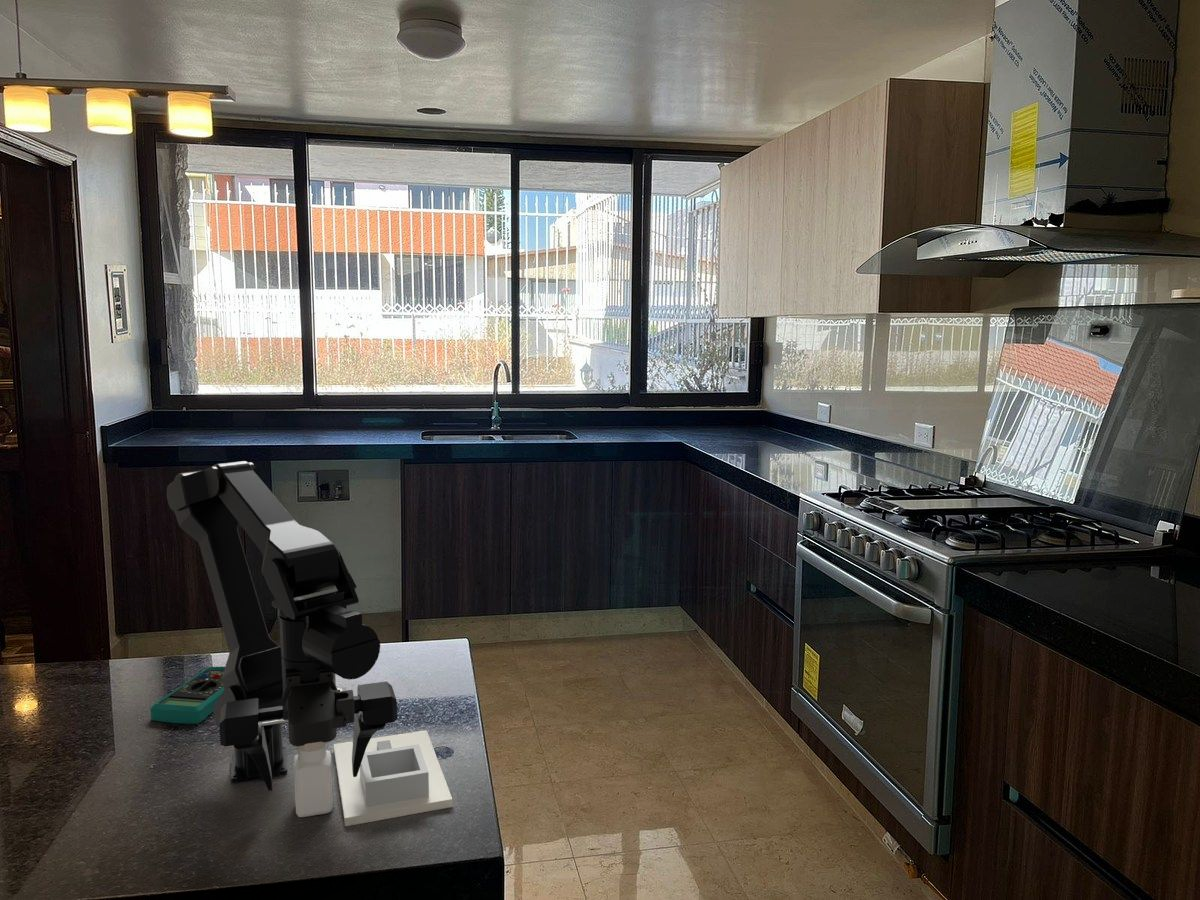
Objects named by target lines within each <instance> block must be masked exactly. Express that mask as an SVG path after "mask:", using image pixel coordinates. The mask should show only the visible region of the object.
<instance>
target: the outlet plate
mask: <svg viewBox="0 0 1200 900" xmlns="http://www.w3.org/2000/svg"><path fill="white" fill-rule="evenodd" d="M352 749H353V740H351V741H346V742H340V743H339V742H338V743H333V754H334V755H333V756H334V761H335V767H336V768H335V769H336V775H337V783H338V789H339V794H340V801H341V808H342V815H343V823H344V827H350V826H355V825H361V824H366V823H371V822H377V821H382V820H388V819H393V818H398V817H399V818H400V817H405V816H410V815H416V814H421V813H425V812H426V813H427V812H433V811H438V810H443V809H450V808H453V807H454V806H453V796H452V794H451V792H450V791H451V790H450V789H449V786H448V784H447V781H446V778H445V775H444V773H443V769H442V768H441V765H440V762H439V759H438V756H437V754H436V752H435V749H434V746H433V744H432V741H431V738H430V735H429V733H428V730H427V729H425V730H419V731H412V732H405V733H400V734H399V733H398V734H392V735H387V736H385V735H384V736H379V737H378V736H377V737H374V738H373V737H371V739H370V741H369V743H368V745H367V747H366V750H365V753H364V756H363V759H362V762H361V765H360V768H359V771H358V774H357V777H353V773H352Z"/></svg>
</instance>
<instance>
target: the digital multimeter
mask: <svg viewBox="0 0 1200 900" xmlns="http://www.w3.org/2000/svg"><path fill="white" fill-rule="evenodd" d="M224 669H225V666H207V667H205V668H203V670H202V671H200V672H199V673H197V674H196V675H194V676H193V677H192V678H191V679H189V680H187V681H186V682H184V683H183V684H181V686H178V687H177V688H176V689H174V690H172V691H171V692H170V693H168V694H167V695H165V696H164V697H162V698H161V699H160V700H158V701H156V702H155V703H154V704H152V705H151V706H150V707H149V708H150V720H152V721H153V722H162V723H171V724H185V725H187V724H189V725H191V724H192V725H194V724H195V725H199V724H200V723H201V722H203V721H204V720H206V718H207V717H209V716H210V715H212V713H214V712H213V707H214V706H215V704H216V702H217V701H218V699H219V698H220V696H221V694H222V693H223V691H224V685H223V681H222V676H223V672H224ZM208 715H209V716H208Z"/></svg>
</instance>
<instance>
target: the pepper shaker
mask: <svg viewBox="0 0 1200 900" xmlns="http://www.w3.org/2000/svg"><path fill="white" fill-rule="evenodd" d="M327 745H328V742H315V743H308V744H305V745H304V746H296V748H297V754H295V755H294V757H293V776H294V778H293V780H294V796H295V797H294V798H295V799H294V800H295V801H294V803H295V813H296V816H297V817H298V818H305V817H312V816H317V815H318V816H319V815H325V814H329V813H330V812H332V810H333V806H334V803H333V800H334V799H333V776H332V775H333V772H332V756H331V750H328V749H327Z"/></svg>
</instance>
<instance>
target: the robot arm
mask: <svg viewBox="0 0 1200 900" xmlns="http://www.w3.org/2000/svg"><path fill="white" fill-rule="evenodd" d="M173 479H174V480H173V481H172V482H170V483H168V484H167V488H166V500H167V503H168V506H169V509H170V510H171V511H173V512H174V515H175V518H176V521H177V524H178V526H179V527H180V529H181V530H183V531H184V532H185V533H187V535H188V536H190V537H191V538H192V539H194V541H196V542H197V543H198V545H199V549H200V553H201V557H202V560H203V563H204V567H205V569H206V573H207V578H208V581H209V584H210V587H211V591H212V595H213V597H214V601H215V605H216V609H217V612H218V616H219V619H220V622H221V626H222V629H223V634H224V637H225V640H226V644H227V647H228V650H229V651H228V652H229V653H228V656H227V660H226V663H225V666H224V667H225V669H224V672H223V676H222V681H223V685H224V691H223V693H222V694H221V696H220V698H219V699H218V701H217V702H216V704H215V706H214V707H213V712H212V713H213V717H214V721H215V725H216V726H217V727H218V728H219V743H220V746H223V747H232V746H233V754H232V756H231V765H230V782H233V783H235V782H241V781H247V780H253V779H254V780H255V779H260V778H262V780H263V782H264V784H265V786H266V789H267V790H268V792H270V791H273V777H274V776H278V775H284V774H287V773H288V753H287V751H288V750H287V747H286V746H284V740H283V737H284V735H283V725H284V724H288V742H289V743H290V745H291V746H293V747H297V746H304V745H305V744H308V743H315V742H327V743H328V742H332V741H333V740H334V739H336V737H337V729H341V728H347V726H348V725H347V724H353V723H354V724H353V736H352V737H353V739H352V741H353V749H352V773H353V777H357V774H358V771H359V768H360V765H361V762H362V759H363V756H364V753H365V750H366V747H367V745H368V743H369V741H370V739H372V738H373V735H375V734H376V732H377V731H381V730H384V729H386V725H387V724H390V723H394V722H396V721H397V720H398V702H397V698H396V695H395V692H394V688H393V685H391V684H390V682H388V681H379V682H372V683H365V684H358V685H357V689H356V690H357V691H356V693H357V694H356V695H354V691H353V689H349V690H348V689H347V690H341V689H338V687H337V684H336V683H337V681H336V676H338V677H340V678H342V679H344V680H345V679H346V680H349V681H350V680H356V679H359V678H362V677H363V676H365V675H366V674H367V673H369V672H370V671H371V669H372V668H373V667H374V666H375V664H376V663H377V661H378V658H379V655H380V653H381V652H380V651H381V640H380V639H379V636H378V635H377V633H376V631H375V630H374V629H373V628H372V627H370V626H368V625H366V624H364V623H363V615H362V613H361V612H359V611H356V610H350V609H348V608H347V607H348V606H352V605H356V604H358V603H359V600H360V599H359V597H358V594H357V591H356V589H357V584H356V582H355V581H354V579H353V577H352V575H351V572H350V571H349V569H348V567H347V566H346V563H345V561H344V558H343V556H342V554H341V551H339V549H338V548H337V547H336V545H335V544H334V542H332V541H331V540H330V539H328V538H327V537H326V535H324V534H323V533H321V532H320V531H319V530H316V529H314V528H311V527H308V526H304V525H301V524H299V523H298V522H297V521H296V520H295V519H294V518H293V516H292V515H291V514H290V513H289V511H288V510H287V509H286V508H285V506H284V505H283V504H282V503H281V502H280V501H279V499H278V498H277V497H276V496H275V494H273V492H272V491H271V490H270V489H269V487H268V486H267V485H266V484H265V483H264V482H263V480H262V479H261V478H260V476H259V473H258V470H257V467H256V465H255V464H254V463H253V462H251V461H250V462H248V461H246V460H241V461H239V460H238V461H231V462H223V463H222V462H221V463H215V464H213V466H209V467H207V468H205V469H203V470H194V471H187V472H180V473H179V472H178V474H176V475H175V477H174V478H173ZM239 526H240V527H242V529H243V530H244V531H245V533H246V534H247V535H248V537H249V538H250V539H251V541H252V542H253V543H254V544H255V546H256V547H257V549H259V550H258V551H260V553H261V555H262V557H263V559H262V566H261V574H262V576H263V577H264V581H265V583H266V585H267V587H268V589H269V591H270V593H271V594H272V596H273V597H274V599H273V600H272V601H271V606H272V608H274V609H276V610H279V611H278V619H279V638H280V639H279V640H280V645H279V644H278V643H277V642H276V641H275V640H273V639H272V638H271V637H270V635H269V632H268V628H267V625H266V621H265V618H264V614H263V610H262V608H261V604H260V600H259V597H258V594H257V593H258V592H257V591H256V588H255V587H256V586H255V584H254V580H253V578H252V573H251V570H250V566H249V564H248V561H247V556H246V553H245V549H244V547H243V542H242V539H241V536H240V533H239ZM334 588H335V589H337V590H335V591H332V592H331V591H330V592H328V593H323V594H319V595H314V596H312V594H316V593H320V592H324V591H327V590H328V591H329V590H333V589H334Z"/></svg>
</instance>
